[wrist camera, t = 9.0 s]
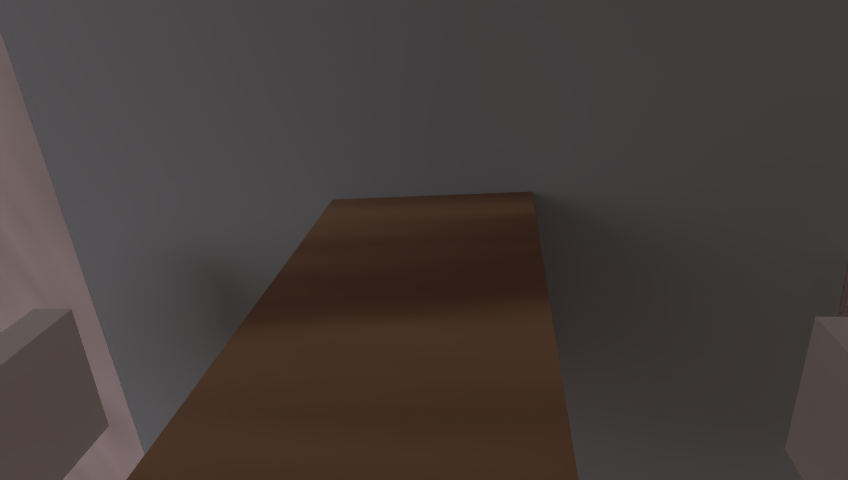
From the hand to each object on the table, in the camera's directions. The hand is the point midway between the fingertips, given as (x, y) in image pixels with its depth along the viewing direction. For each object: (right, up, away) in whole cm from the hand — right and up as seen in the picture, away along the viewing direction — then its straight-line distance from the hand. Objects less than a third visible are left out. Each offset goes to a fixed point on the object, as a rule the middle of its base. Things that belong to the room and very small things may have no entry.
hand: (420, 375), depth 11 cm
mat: (+1, +1, +5) cm, 5 cm away
